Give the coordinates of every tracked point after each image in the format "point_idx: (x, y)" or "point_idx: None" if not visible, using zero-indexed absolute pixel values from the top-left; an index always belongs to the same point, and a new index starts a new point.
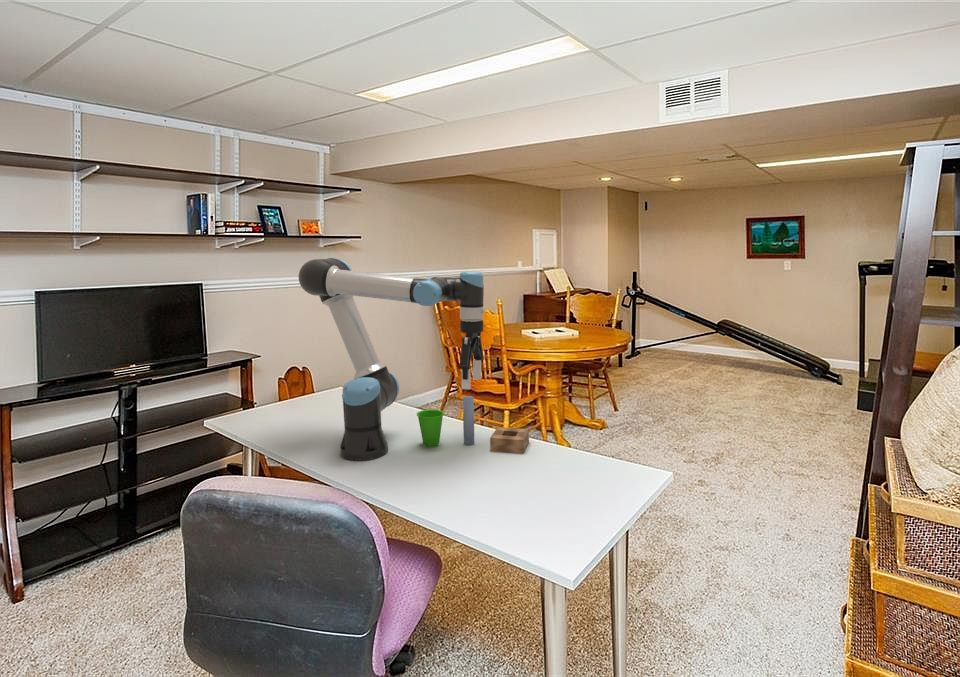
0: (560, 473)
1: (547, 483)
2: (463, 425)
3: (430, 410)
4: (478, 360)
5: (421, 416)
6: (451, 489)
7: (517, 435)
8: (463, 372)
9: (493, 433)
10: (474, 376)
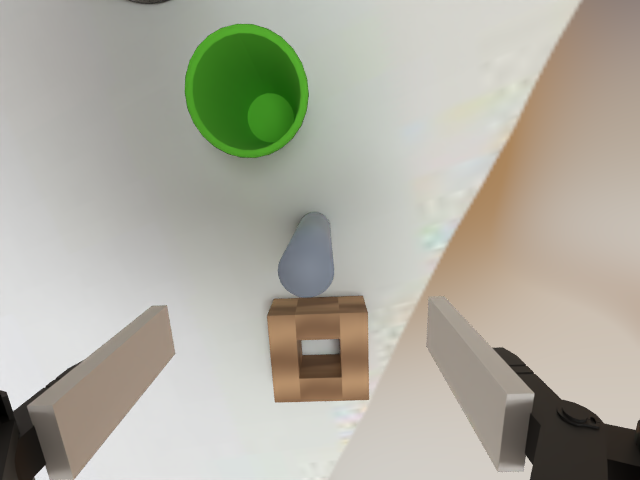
0: (195, 462)
1: (138, 446)
2: (302, 223)
3: (296, 71)
4: (507, 449)
5: (260, 47)
6: (26, 279)
7: (307, 381)
8: (24, 412)
9: (306, 315)
10: (435, 315)
